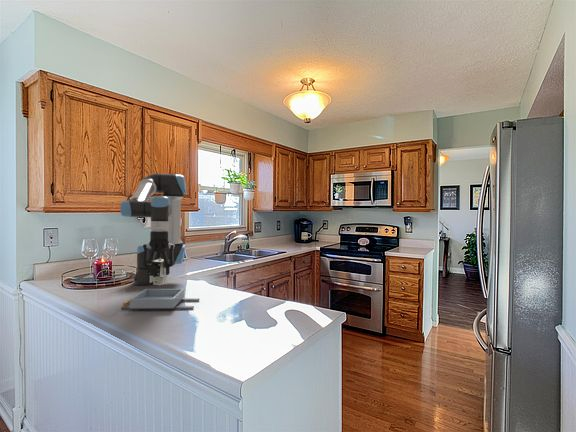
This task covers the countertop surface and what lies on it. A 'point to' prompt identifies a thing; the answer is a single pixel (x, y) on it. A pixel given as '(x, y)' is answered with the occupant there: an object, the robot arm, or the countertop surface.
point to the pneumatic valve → (157, 271)
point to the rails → (127, 307)
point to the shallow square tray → (157, 298)
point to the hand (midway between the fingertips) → (158, 281)
